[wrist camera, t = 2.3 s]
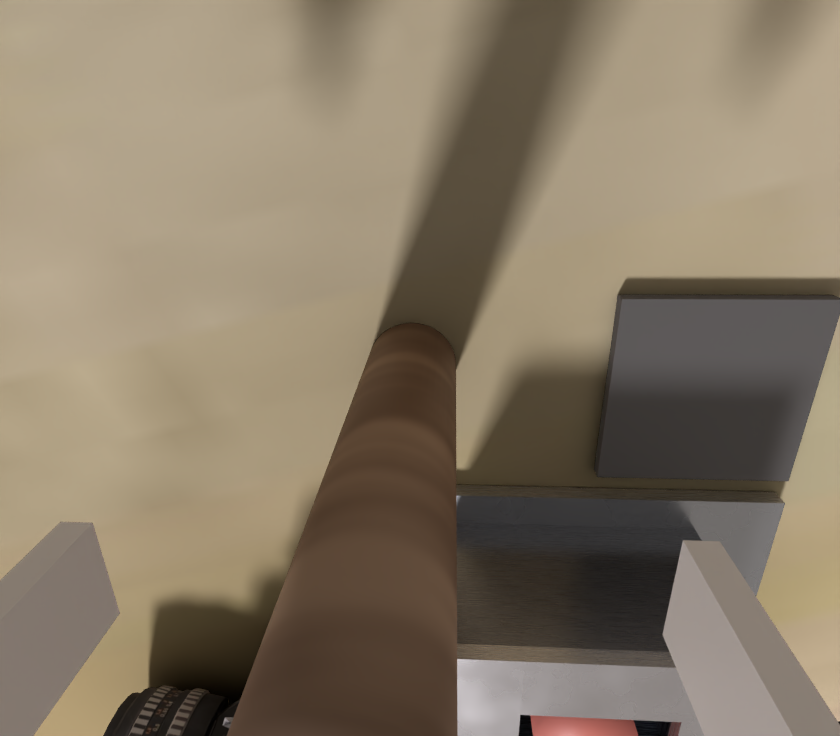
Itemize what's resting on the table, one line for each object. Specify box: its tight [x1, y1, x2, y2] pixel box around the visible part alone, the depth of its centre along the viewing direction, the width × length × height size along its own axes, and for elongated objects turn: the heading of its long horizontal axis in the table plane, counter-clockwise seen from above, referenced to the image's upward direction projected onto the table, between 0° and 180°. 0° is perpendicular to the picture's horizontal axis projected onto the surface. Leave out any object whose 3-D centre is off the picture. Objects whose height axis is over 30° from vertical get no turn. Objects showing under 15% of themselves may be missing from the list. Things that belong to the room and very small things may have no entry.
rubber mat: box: [594, 295, 840, 481], centre depth 22 cm, size 8×8×1 cm
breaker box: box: [456, 485, 785, 736], centre depth 24 cm, size 14×18×8 cm
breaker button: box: [530, 715, 638, 736], centre depth 23 cm, size 4×4×4 cm
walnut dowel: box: [227, 323, 458, 736], centre depth 15 cm, size 4×4×16 cm
